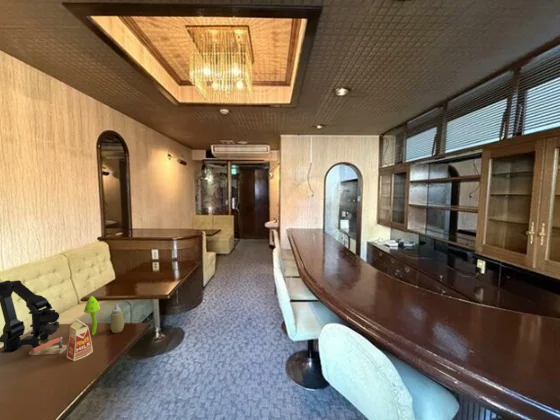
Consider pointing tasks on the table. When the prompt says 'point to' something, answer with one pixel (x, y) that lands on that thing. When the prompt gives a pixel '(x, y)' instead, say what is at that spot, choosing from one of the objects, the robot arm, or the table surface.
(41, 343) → the tan rectangular block
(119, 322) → the squeeze bottle
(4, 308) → the robot arm
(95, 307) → the mushroom
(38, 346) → the lever
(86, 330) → the milk carton
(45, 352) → the plane body
